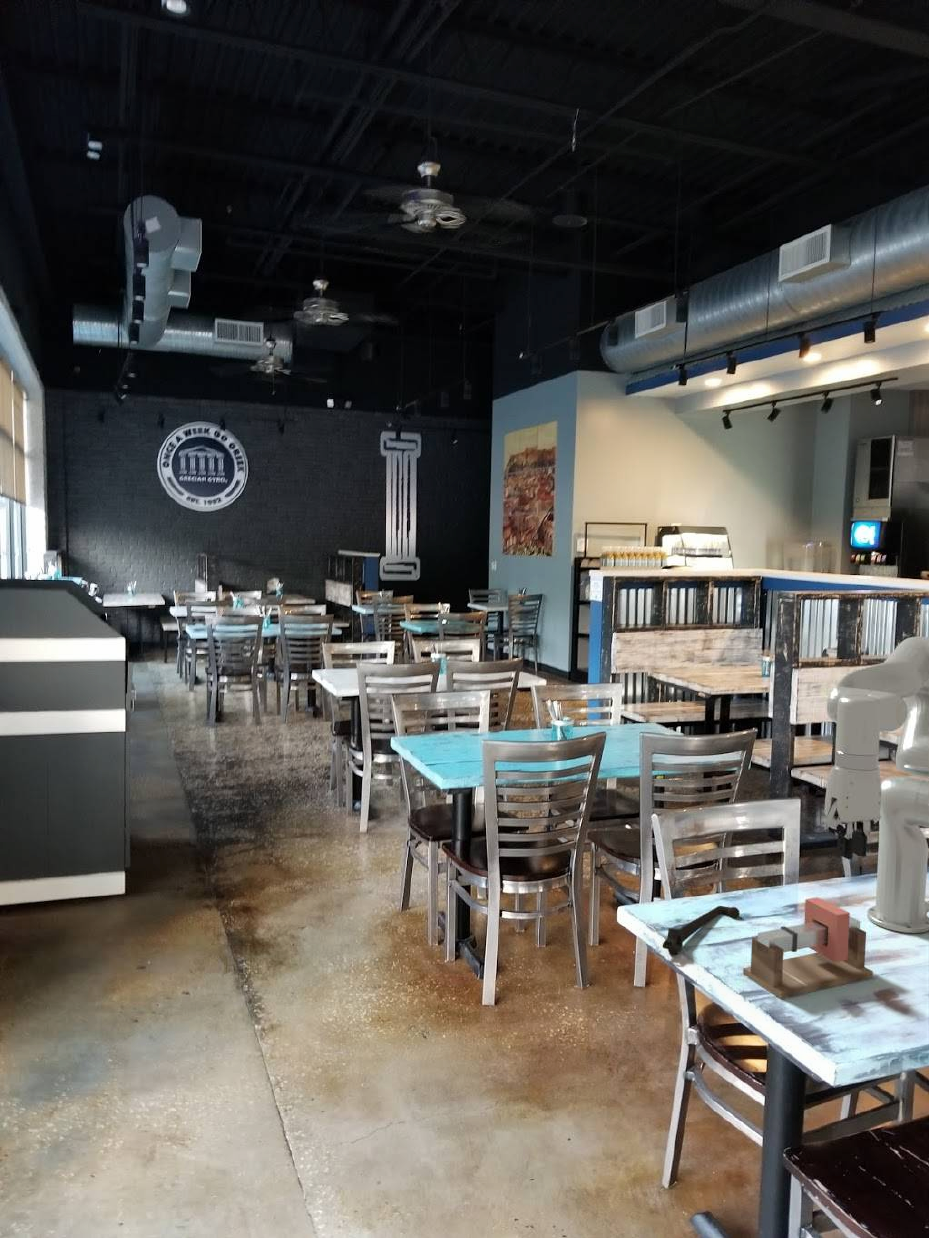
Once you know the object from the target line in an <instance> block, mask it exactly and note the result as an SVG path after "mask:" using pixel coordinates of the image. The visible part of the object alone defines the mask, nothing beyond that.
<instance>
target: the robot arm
mask: <svg viewBox="0 0 929 1238" xmlns="http://www.w3.org/2000/svg"><path fill="white" fill-rule="evenodd" d="M826 712H827V716H828V717H829V719H830V720H831V721H832V722H834V723H835V724H836V727H835V729H836V730H835V731H836V733H835V748H834V749H835V750H834V751H835V752H834V753H835V754H834V766H832V767H831V769H830V772H829V775H828V778H827V779H828V780H827V784H826V790H825V791H826V792H825V799H824V815H825V817H826V818H825V822H824V824H825V826H827V827H830V828H831V829H833V831H834V833H835V835H837V846H836V847H837V848H836V853H837V855H838V856H839V857H842V858H844V859H847V860H852V859H853V854H854V855H857V856H858V857H862V858H865V857H866V858H867V849H868V837H869V836H870V835H871V829H872V828H873V827H874V825H875V824H876V823H878V822H879V823H878V824H879V825H878V826H879V831H878V832H879V834H878V855H877V857H878V858H877V874H876V892H875V905H874V906H871V907H869V908H868V909H867V915H866V917H867V918H868V919H869V921H870V922H872V923H873V924H874V925H877V926H879V927H881V928H884V929H887V930H890V931H894V932H898V933H906V934H921V933H925V932H928V931H929V916H928V913H929V900H928V901H926V893H927V891H926V890H927V876H928V874H927V873H928V872H927V871H928V859H929V857H928V855H929V846H928V845H929V844H928V842H927V839H926V836H925V835H924V833H923V831H922V830H921V827H923V828H929V780H924V779H929V636H912V637H908V638H906V639H903V640H902V641H901V642H900V643H899V644H898V645H897V647H895V649H894V650H893V651H892V652H891V654H890V655H889V656H888V657H887V658H886V659H885V660H884V662H881V663H877V664H874V665H870V666H867V667H864V668H860V669H857V670H854V671H851V672H850V673H847V674H846V675H844V676H843V677H842V678H841V679H840V680H839V681H838V682H837V683H836V685H834V687H833V688H832V690H831V692H830V693H829V694H828V697H827V701H826ZM901 727H902V730H901V733H900V737H899V741H898V746H897V748H896V754H895V765H896V768H898V770H899V771H900V772H902V773H904V774H906V775H910V776H914V777H918V778H924V779H917V778H913V777H908V776H901V775H899V776H896V775H894V776H888V777H886V778H884V779H882V780H881V774H880V768H879V760H880V757H881V756H880V753H879V752H880V737H881V735H880V734H881V732H886V733H887V732H894V731H897V730H898V729H900V728H901ZM853 824H854V831H852V830H853Z"/></svg>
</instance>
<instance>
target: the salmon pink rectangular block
mask: <svg viewBox="0 0 929 1238" xmlns="http://www.w3.org/2000/svg"><path fill="white" fill-rule="evenodd" d="M850 917H851V914H850V912H849V911H848V910H845V909H843V908H841V907H839V906H837V905H836V904H835V905H834V904H832V903H830V902H828V901H827V900H824V899H823V898H820V897H818V896H817V897H812V898H811V897H810V898H807V899H806V898H805V905H804V920H803V921H804V923H803V924H807V923H812V922H817V921H818V922H820V923H822V924H824V925H826V926H828V943H827V944H822V945H817V946H813V947H808V949H810V950H812V951H814V952H815V953H817V952H818V953H819V954H821V955H823V956H825V957H826V958H828V959H830V960H832V961H834V962H839V961H844V960H847V957H848V938H849V918H850Z"/></svg>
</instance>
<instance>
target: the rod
mask: <svg viewBox="0 0 929 1238" xmlns="http://www.w3.org/2000/svg"><path fill="white" fill-rule="evenodd" d="M858 929H861V921H860V920H858V919H856V918H854V917H852V916H850V918H849V938H848V939H851V938H852V931H853V930H858ZM757 937H758V941H759V942H760V943H761V945H762V944H764V946H763V947H765V948H764V949H766V948H767V949H768V947H769V948H770V947H775V946H779V947H780V948H782V949H783V954H784V953H787V952H792V953H796V952H797V951H798V950H803V949H806V948H808V949H809V947H813V946H817V945H822V944H827V943H828V926H826V925H824V924H822V923H820V922H818V921H817V922H812V923H807V924H804V923H802V924H797V925H792V926H787V927H786V926H781V927H780V928H777V929H771V930H766V931H762V932H757ZM757 945H760V944H757ZM766 946H767V947H766ZM763 947H762V948H763ZM757 948H760V946H759V947H758V946H757ZM762 948H760V951H763V952H764V950H762ZM767 949H766V950H767ZM758 950H759V949H758Z"/></svg>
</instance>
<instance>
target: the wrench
mask: <svg viewBox="0 0 929 1238" xmlns="http://www.w3.org/2000/svg"><path fill="white" fill-rule="evenodd" d="M740 913H741V912H740V910H739V908H738V907H736V906H731V907H730V906H723V905H718V906H716V907H714V908H713V909H711V910H709V911H708V912H706V913H704V914H702V915H701V916H699V917H697V918H696V919H694V920H692V921H690V922H688V923H686V924H685V925H683V926H682V927H680V928H672V927H669V928H668V930H667V931H668V932H667V935H666V936H667V937H666V938H665V940H664V941H663V943H662V949H664V950H667V951H668V953H669V955H672V956H679V954H680V952H681V950H682V948H683V942H685V941H687V939H688V938H689V937H691V936H692V935H694V933H696V932H697V931H698V930H700V928H702V927H703V926H705V925H706V924H708V923H709V922H710V921H712V920H713V919H714V918H716V917H717V916H718V915H725V916H729V917H730V918H733V919H736V918H739V916H740Z"/></svg>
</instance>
